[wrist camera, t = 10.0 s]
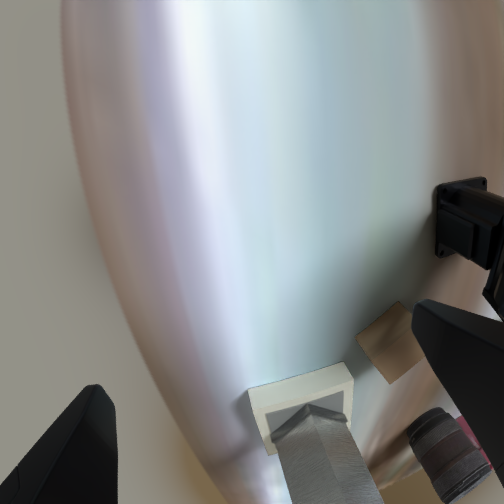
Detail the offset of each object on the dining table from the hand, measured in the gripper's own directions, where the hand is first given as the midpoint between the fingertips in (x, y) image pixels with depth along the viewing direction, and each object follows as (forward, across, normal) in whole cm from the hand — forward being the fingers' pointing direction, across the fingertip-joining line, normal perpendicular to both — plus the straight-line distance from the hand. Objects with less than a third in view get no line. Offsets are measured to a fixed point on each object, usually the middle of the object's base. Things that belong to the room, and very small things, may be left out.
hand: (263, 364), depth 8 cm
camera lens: (+13, -22, +37) cm, 45 cm away
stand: (+13, -3, +20) cm, 24 cm away
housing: (+10, -3, +20) cm, 23 cm away
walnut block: (+13, -12, +14) cm, 23 cm away
